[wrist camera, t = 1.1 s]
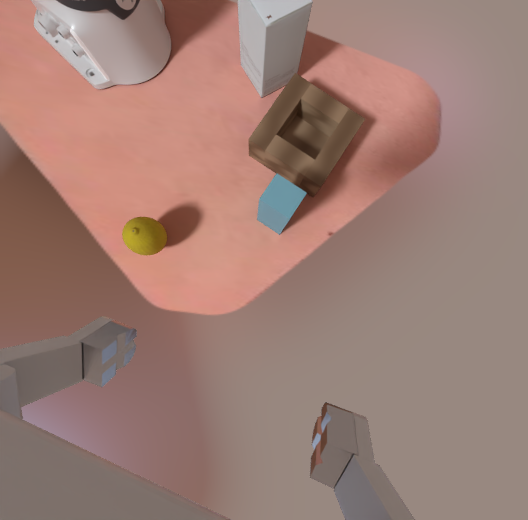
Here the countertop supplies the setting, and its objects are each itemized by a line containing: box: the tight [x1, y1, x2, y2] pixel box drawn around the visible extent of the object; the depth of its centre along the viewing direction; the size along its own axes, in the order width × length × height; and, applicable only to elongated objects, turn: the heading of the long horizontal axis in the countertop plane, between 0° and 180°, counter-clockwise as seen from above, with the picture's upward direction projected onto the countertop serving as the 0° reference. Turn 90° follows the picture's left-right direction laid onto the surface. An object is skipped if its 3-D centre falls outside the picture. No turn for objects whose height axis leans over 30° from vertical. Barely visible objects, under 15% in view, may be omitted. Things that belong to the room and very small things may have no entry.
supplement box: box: [238, 0, 313, 98], centre depth 38 cm, size 7×7×13 cm
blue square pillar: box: [257, 174, 307, 234], centre depth 37 cm, size 4×4×11 cm
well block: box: [249, 73, 365, 197], centre depth 41 cm, size 13×13×5 cm
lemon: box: [122, 217, 167, 255], centre depth 37 cm, size 6×6×8 cm
